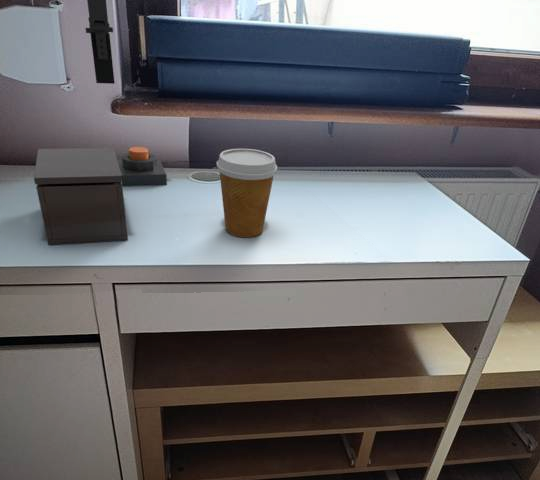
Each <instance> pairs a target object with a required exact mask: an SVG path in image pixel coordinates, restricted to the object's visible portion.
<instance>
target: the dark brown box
mask: <svg viewBox="0 0 540 480" xmlns="http://www.w3.org/2000/svg"><path fill="white" fill-rule="evenodd" d="M35 186H36V187H35V188H36V192H37V193H36V194H37V199H38V202H39V207H40V212H41V217H42V222H43V226H44V230H45V237H46V241H47V245H48V246H55V245H58V246H59V245H73V244H88V243H89V244H90V243H104V242H121V241H124V242H125V241H129V237H128V228H127V227H128V226H127V217H126V208H125V207H126V206H125V200H124V199H125V198H124V197H125V196H124V189H123V187H124V186H122V182H106V183H71V184H35Z"/></svg>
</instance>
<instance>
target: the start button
mask: <svg viewBox="0 0 540 480" xmlns="http://www.w3.org/2000/svg"><path fill="white" fill-rule="evenodd" d="M128 153H129V156H130V159H132V160H147V159H149V158H148V153H149V149H148V148H146V147H143V146H132V147H130V148H128Z"/></svg>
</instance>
